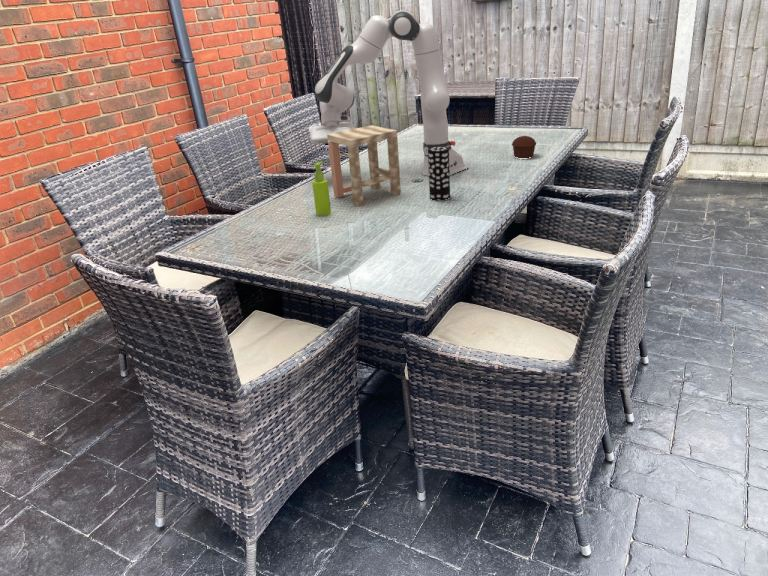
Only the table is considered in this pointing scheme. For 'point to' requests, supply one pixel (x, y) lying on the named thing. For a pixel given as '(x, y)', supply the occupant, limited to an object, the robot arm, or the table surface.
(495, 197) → the table surface
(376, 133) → the stool
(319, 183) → the soap dispenser
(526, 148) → the muffin
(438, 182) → the spotted tube
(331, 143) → the hinged leg
